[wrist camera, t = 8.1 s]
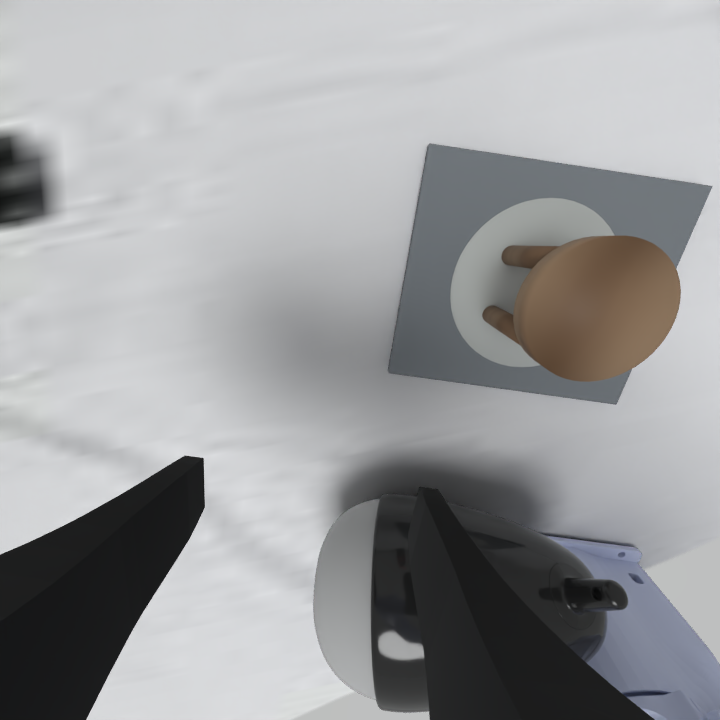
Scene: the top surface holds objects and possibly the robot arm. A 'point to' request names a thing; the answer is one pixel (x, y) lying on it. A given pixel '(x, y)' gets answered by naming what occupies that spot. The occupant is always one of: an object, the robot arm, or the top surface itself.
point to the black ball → (397, 601)
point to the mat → (502, 282)
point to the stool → (590, 305)
